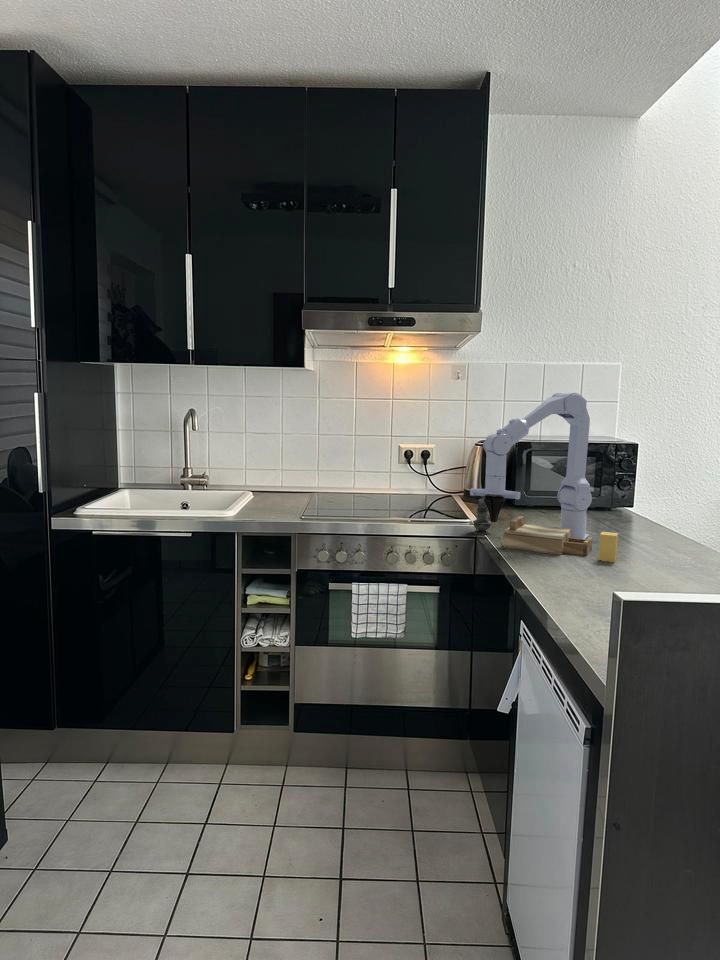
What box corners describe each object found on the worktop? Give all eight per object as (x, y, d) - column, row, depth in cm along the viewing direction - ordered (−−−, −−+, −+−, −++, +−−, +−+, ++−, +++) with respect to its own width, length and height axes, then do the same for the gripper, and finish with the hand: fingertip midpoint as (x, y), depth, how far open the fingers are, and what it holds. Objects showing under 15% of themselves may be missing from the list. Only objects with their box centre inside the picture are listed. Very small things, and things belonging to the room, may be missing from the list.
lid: (516, 525, 195) (516, 514, 195) (571, 531, 188) (572, 520, 187) (503, 533, 184) (504, 521, 184) (561, 539, 176) (562, 527, 176)
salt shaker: (478, 530, 209) (479, 493, 208) (494, 533, 205) (496, 495, 204) (468, 533, 205) (470, 495, 203) (485, 535, 201) (487, 497, 200)
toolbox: (515, 539, 196) (516, 526, 195) (593, 548, 185) (594, 534, 185) (503, 547, 185) (503, 533, 184) (584, 557, 174) (585, 543, 173)
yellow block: (600, 557, 175) (602, 531, 174) (616, 559, 173) (618, 533, 172) (598, 560, 171) (599, 534, 170) (614, 562, 169) (616, 535, 169)
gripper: (467, 475, 190) (465, 521, 192) (516, 478, 183) (514, 526, 185) (475, 473, 196) (473, 517, 198) (523, 476, 189) (521, 522, 191)
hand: (493, 521), depth 192 cm, fingers closed
